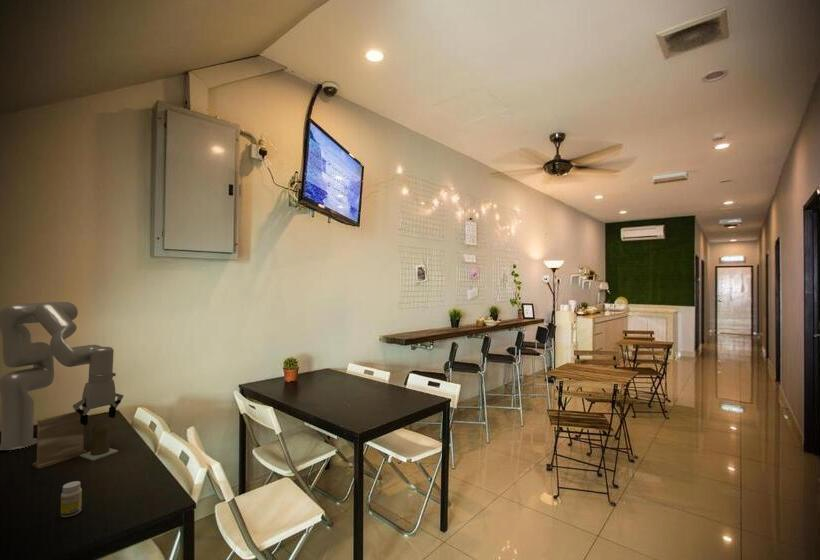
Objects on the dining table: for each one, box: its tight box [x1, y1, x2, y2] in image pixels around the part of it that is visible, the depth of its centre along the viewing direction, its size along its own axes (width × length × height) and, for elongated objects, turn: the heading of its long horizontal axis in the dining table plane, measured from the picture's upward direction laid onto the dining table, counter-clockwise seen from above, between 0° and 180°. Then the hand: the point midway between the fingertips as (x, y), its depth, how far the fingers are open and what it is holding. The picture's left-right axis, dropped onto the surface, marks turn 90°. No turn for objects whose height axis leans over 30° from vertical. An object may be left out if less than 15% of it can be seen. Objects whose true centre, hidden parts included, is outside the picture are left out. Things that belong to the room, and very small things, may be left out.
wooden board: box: [32, 411, 88, 469], centre depth 151 cm, size 5×15×17 cm, turn 155°
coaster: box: [79, 447, 119, 462], centre depth 156 cm, size 9×9×1 cm
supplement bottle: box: [60, 480, 83, 518], centre depth 115 cm, size 5×5×8 cm
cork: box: [90, 423, 110, 456], centre depth 156 cm, size 6×6×11 cm
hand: (98, 420), depth 156 cm, fingers open, 9 cm apart
